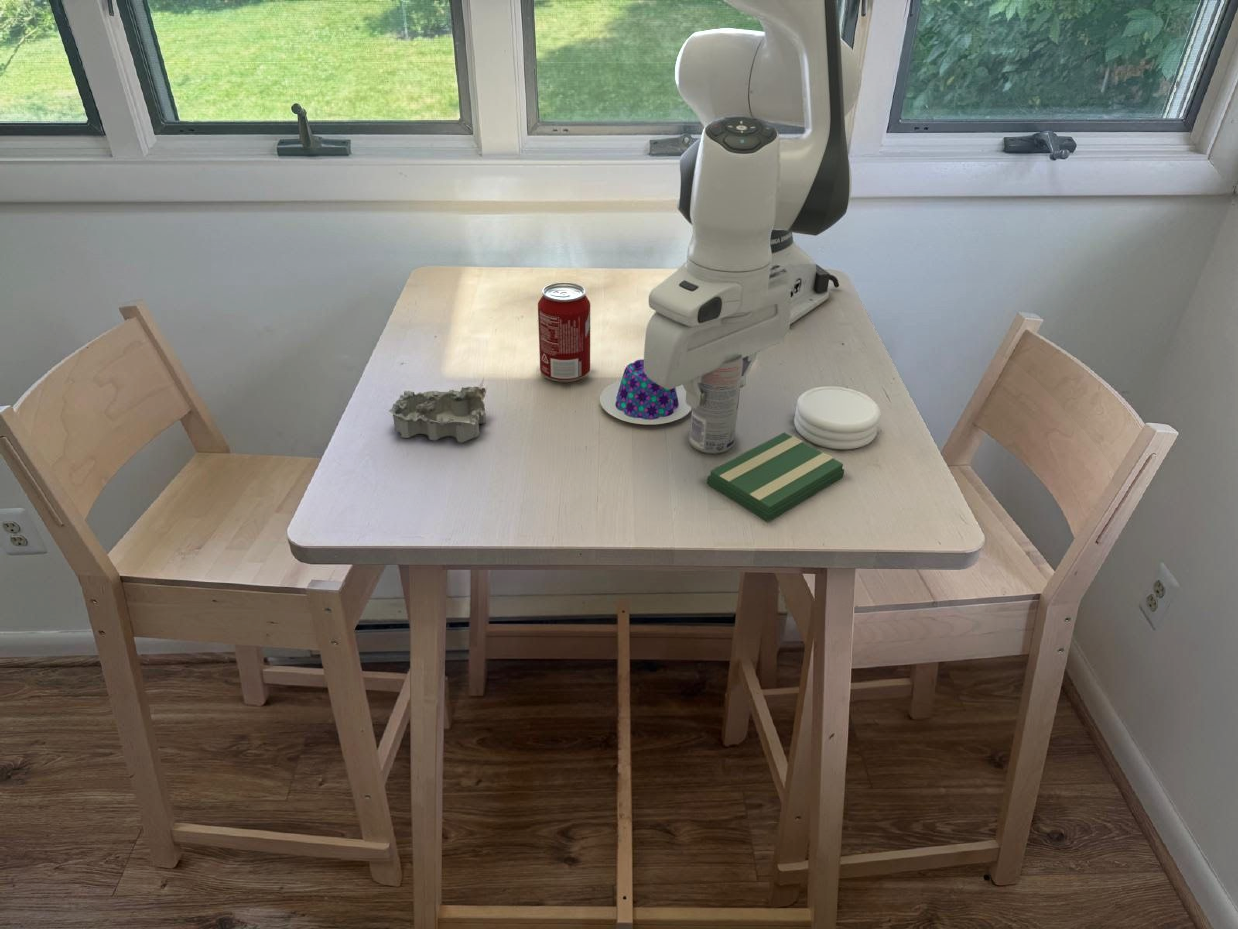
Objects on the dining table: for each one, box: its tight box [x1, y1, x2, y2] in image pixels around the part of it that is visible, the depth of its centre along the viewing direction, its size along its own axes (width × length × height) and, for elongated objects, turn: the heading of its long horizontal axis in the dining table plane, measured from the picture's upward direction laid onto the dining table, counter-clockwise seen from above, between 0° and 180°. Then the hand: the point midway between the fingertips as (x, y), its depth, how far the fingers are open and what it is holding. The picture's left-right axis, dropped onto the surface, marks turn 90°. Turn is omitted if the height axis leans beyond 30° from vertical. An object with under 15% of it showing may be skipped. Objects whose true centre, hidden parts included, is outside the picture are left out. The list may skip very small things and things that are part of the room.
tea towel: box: [706, 432, 845, 522], centre depth 97 cm, size 13×9×2 cm
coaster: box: [793, 385, 881, 450], centre depth 106 cm, size 10×10×4 cm
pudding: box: [599, 358, 692, 425], centre depth 110 cm, size 12×12×5 cm
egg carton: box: [388, 386, 487, 443], centre depth 105 cm, size 11×8×4 cm
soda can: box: [537, 281, 591, 384], centre depth 114 cm, size 7×7×12 cm
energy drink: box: [688, 355, 743, 455], centre depth 101 cm, size 5×5×12 cm
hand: (715, 395), depth 100 cm, fingers closed on energy drink, 5 cm apart
